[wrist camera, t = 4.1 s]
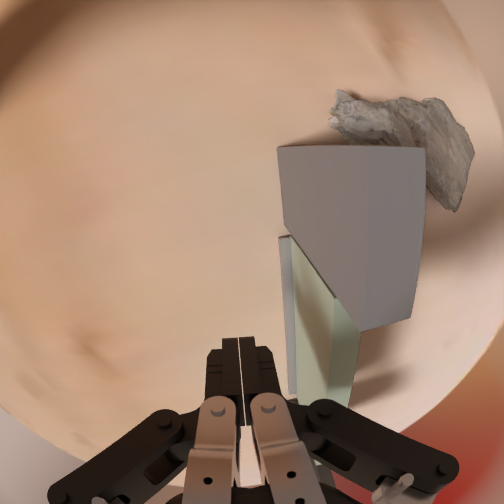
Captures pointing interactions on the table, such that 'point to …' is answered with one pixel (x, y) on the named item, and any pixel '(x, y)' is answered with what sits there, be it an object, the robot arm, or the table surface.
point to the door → (321, 336)
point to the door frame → (353, 233)
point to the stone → (412, 137)
